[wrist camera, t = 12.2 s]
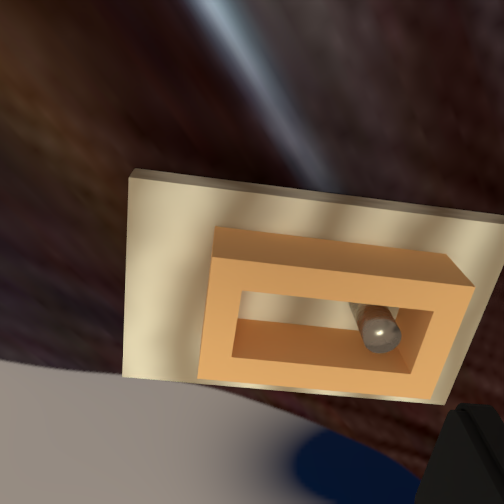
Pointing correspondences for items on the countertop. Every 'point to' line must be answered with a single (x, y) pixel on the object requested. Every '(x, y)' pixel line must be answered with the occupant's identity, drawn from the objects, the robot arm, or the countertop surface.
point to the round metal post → (376, 327)
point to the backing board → (264, 304)
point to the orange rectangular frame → (323, 338)
